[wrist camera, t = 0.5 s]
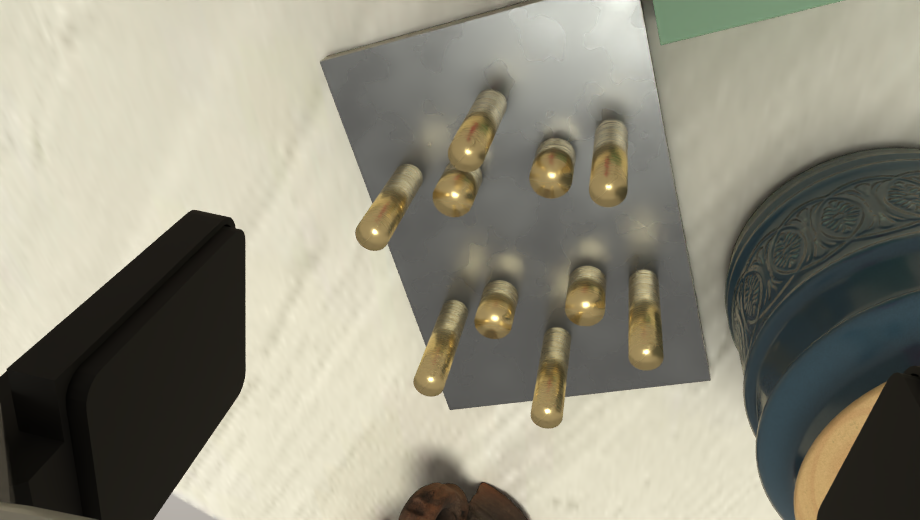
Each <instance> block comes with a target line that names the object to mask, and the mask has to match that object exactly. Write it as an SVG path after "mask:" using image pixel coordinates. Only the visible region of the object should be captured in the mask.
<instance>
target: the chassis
mask: <svg viewBox="0 0 920 520" xmlns="http://www.w3.org/2000/svg"><path fill="white" fill-rule="evenodd" d="M320 64H321V67H322V69H323V72H324V75H325V77H326V80H327V83H328V85H329V88H330V91H331V93H332V96H333V99H334V102H335V104H336V107H337V110H338V112H339V115H340V118H341V120H342V123H343V126H344V128H345V131H346V134H347V136H348V139H349V142H350V144H351V147H352V150H353V152H354V155H355V158H356V160H357V163H358V166H359V168H360V171H361V174H362V176H363V179H364V182H365V184H366V187H367V190H368V192H369V195H370V198H371V200H372V203H373V204H372V205H371V207H370V208H369V210H368V211H367V213H366V214H365V216H364V217H363V219H362V220H361V222H360V223H359V224H358V226H357V228H356V232H355V233H356V238H357V241H358V242H359V243H360V245H361V246H363V247H364V248H366V249H368V250H372V251H377V250H381V249H383V248H384V247H385V246H386V245H387V243H388V246H389V249H390V251H391V254H392V257H393V259H394V262H395V265H396V267H397V270H398V273H399V275H400V278H401V281H402V283H403V286H404V289H405V291H406V294H407V297H408V299H409V302H410V305H411V307H412V310H413V313H414V315H415V318H416V321H417V324H418V326H419V329H420V332H421V334H422V337H423V340H424V342H425V345H426V349H425V352H424V354H423V357H422V360H421V362H420V365H419V367H418V370H417V372H416V375H415V377H414V386H415V388H416V389H417V391H418V392H420V393H421V394H423V395H426V396H437V395H439V394H440V393H441V392H442V391H443V393H444V396H445V398H446V401H447V404H448V406H449V409H450V410H454V409H463V408H472V407H481V406H490V405H498V404H507V403H516V402H525V401H533V403H532V409H531V419H532V421H533V422H534V423H535V424H536V425H538V426H540V427H542V428H554V427H556V426H558V425H559V424H560V423H561V421H562V417H563V408H564V399H565V397H569V396H578V395H587V394H595V393H604V392H613V391H622V390H631V389H639V388H648V387H657V386H666V385H675V384H683V383H692V382H701V381H710V380H711V379H710V372H709V366H708V361H707V355H706V350H705V345H704V339H703V334H702V328H701V323H700V318H699V312H698V307H697V301H696V296H695V291H694V285H693V280H692V275H691V269H690V264H689V258H688V253H687V248H686V242H685V237H684V231H683V226H682V221H681V215H680V210H679V204H678V199H677V194H676V188H675V183H674V178H673V172H672V167H671V161H670V156H669V151H668V145H667V140H666V134H665V129H664V124H663V118H662V113H661V107H660V102H659V97H658V91H657V86H656V81H655V75H654V70H653V64H652V59H651V54H650V48H649V43H648V37H647V32H646V27H645V21H644V16H643V10H642V5H641V0H529V1H526V2H522V3H518V4H515V5H511V6H508V7H504V8H500V9H497V10H493V11H489V12H486V13H482V14H478V15H475V16H471V17H468V18H464V19H460V20H457V21H453V22H449V23H446V24H442V25H438V26H435V27H431V28H428V29H424V30H420V31H417V32H413V33H409V34H406V35H402V36H398V37H395V38H391V39H388V40H384V41H380V42H377V43H373V44H369V45H366V46H362V47H358V48H355V49H351V50H348V51H344V52H340V53H337V54H333V55H329V56H327V57H325V58H324V59H323V60H321V61H320Z"/></svg>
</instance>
